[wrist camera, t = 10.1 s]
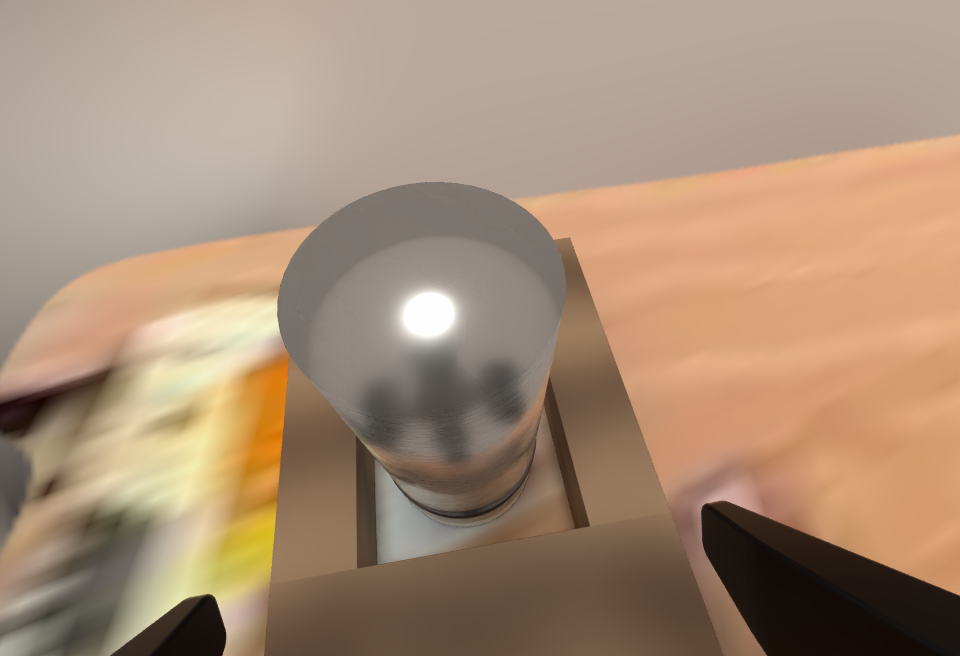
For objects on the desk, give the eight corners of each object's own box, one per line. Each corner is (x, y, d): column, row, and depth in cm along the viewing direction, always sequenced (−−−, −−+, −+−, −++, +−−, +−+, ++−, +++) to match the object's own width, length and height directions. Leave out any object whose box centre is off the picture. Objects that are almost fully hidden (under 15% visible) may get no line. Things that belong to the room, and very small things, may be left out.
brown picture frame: (701, 686, 13) (740, 702, 11) (294, 769, 12) (251, 802, 10) (563, 273, 22) (569, 237, 19) (316, 310, 21) (296, 277, 19)
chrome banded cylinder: (556, 489, 16) (630, 333, 7) (427, 555, 15) (313, 476, 6) (495, 377, 19) (489, 152, 9) (381, 427, 18) (251, 231, 8)
